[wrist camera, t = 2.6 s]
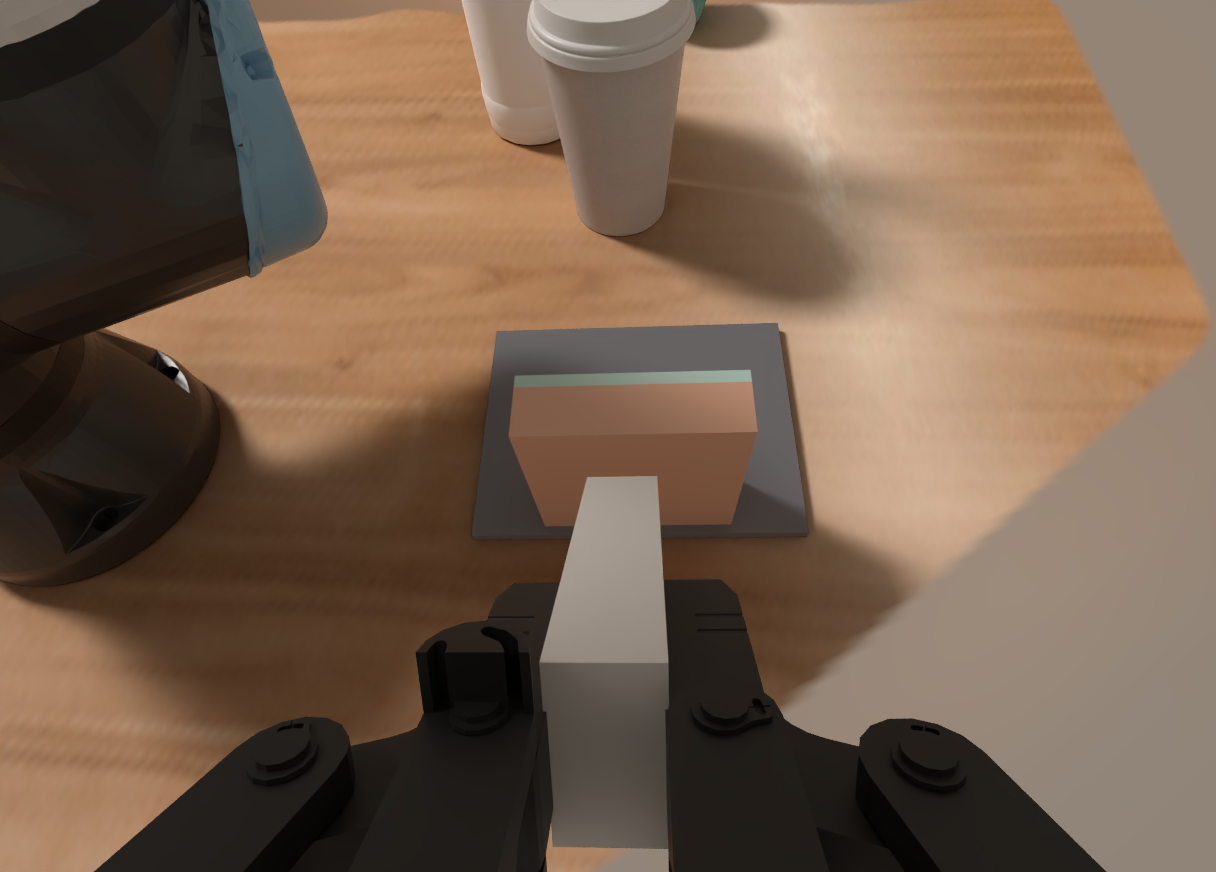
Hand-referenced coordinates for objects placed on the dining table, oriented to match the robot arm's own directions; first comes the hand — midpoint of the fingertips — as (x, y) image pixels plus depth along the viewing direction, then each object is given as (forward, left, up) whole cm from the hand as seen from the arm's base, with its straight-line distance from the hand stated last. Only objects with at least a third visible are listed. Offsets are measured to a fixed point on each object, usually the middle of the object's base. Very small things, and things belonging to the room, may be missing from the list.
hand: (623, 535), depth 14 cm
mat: (0, +14, -20) cm, 24 cm away
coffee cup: (-1, +33, -20) cm, 39 cm away
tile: (0, +9, -19) cm, 21 cm away
